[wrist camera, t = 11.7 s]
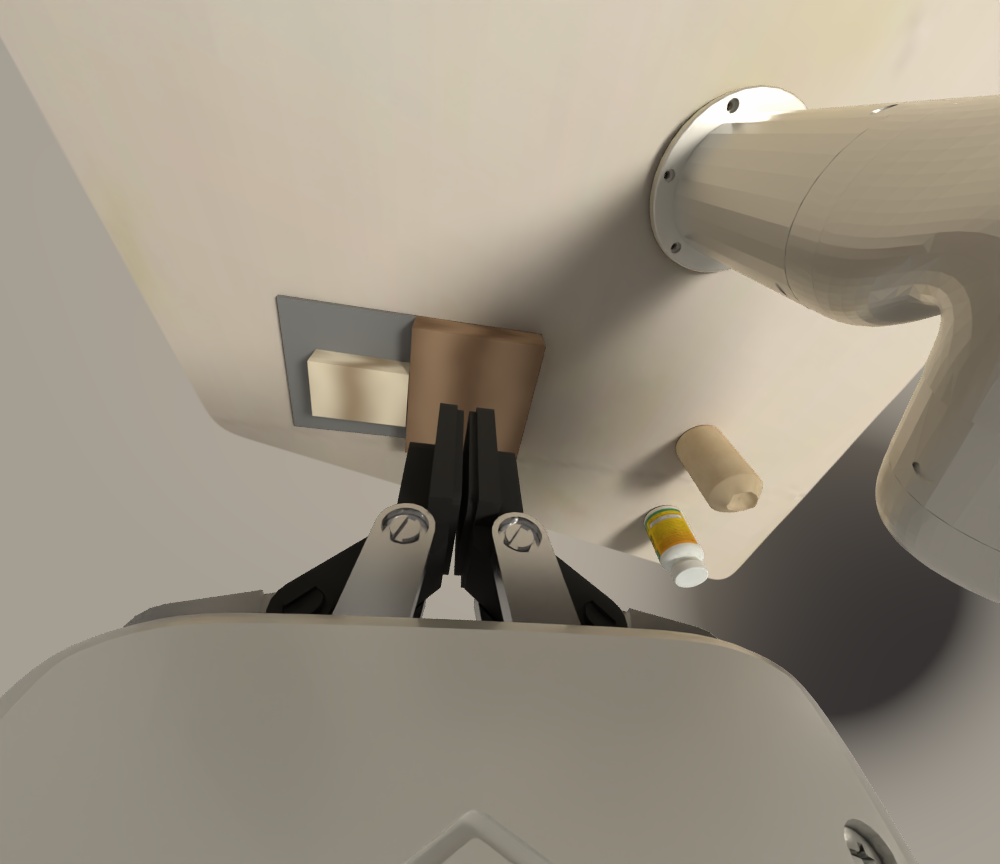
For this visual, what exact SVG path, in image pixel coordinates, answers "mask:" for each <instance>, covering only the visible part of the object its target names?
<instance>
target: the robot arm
mask: <svg viewBox="0 0 1000 864" xmlns="http://www.w3.org/2000/svg"><path fill="white" fill-rule="evenodd" d="M728 102H729V103H730V107H729V109H728V110H727V104H728ZM666 171H667V172H668V176H667V177H666V178H665V179H664V174H665V172H666ZM650 220H651V227H652V230H653V233H654V236H655V239H656V241H657V243H658V244H659V246H660V248H661V249H662V251H663V252H664V253H665V254H666V255H667V256H668V257H669V258H670V259H671V260H673V261H674V262H676V263H677V264H679V265H680V266H683V267H685V268H687V269H689V270H693V271H698V272H703V273H704V272H720V271H724V270H729V269H733V270H735V271H737V272H739V273H741V274H743V275H745V276H747V277H749V278H751V279H753V280H755V281H757V282H758V283H760V284H762V285H764V286H766V287H768V288H770V289H772V290H774V291H776V292H778V293H780V294H782V295H784V296H786V297H787V298H789V299H791V300H793V301H795V302H797V303H799V304H801V305H803V306H805V307H807V308H809V309H812V310H814V311H816V312H818V313H820V314H822V315H823V316H826V317H828V318H831V319H833V320H836V321H838V322H842V323H846V324H850V325H856V326H871V327H879V326H890V325H897V324H903V323H909V322H914V321H918V320H922V319H926V318H929V317H933V316H937V315H940V314H941V324H940V328H939V333H938V336H937V338H936V341H935V343H934V345H933V348H932V350H931V352H930V355H929V357H928V359H927V361H926V364H925V366H924V372H923V374H922V376H921V378H920V381H919V383H918V385H917V387H916V389H915V391H914V393H913V396H912V398H911V400H910V402H909V404H908V406H907V408H906V410H905V413H904V415H903V417H902V419H901V421H900V423H899V425H898V427H897V429H896V432H895V434H894V436H893V438H892V440H891V443H890V446H889V448H888V451H887V453H886V455H885V457H884V459H883V462H882V465H881V468H880V470H879V474H878V477H877V482H876V503H877V508H878V511H879V514H880V517H881V519H882V521H883V523H884V524H885V526H886V527H887V529H888V530H889V532H890V533H891V534H892V536H893V537H894V538H895V539H896V541H898V543H899V544H900V545H901V546H902V547H904V548H905V549H906V550H907V551H908V552H909V553H910V554H912V555H913V556H914V557H915V558H917V559H918V560H919V561H920V562H922V563H923V564H925V565H926V566H927V567H929V568H931V569H932V570H934V571H935V572H937V573H939V574H940V575H942V576H943V577H945V578H947V579H949V580H950V581H952V582H954V583H956V584H958V585H960V586H962V587H964V588H966V589H968V590H970V591H972V592H974V593H976V594H978V595H981V596H983V597H985V598H987V599H990V600H992V601H994V602H997V603H999V604H1000V94H999V95H990V96H978V97H965V98H952V99H940V100H927V101H913V102H900V103H887V104H873V105H860V106H846V107H833V108H820V109H807V107H806V105H805V104H804V103H803V102H802V101H801V100H800V99H799V98H798V97H796V96H795V95H794V94H793V93H791V92H789V91H786V90H784V89H782V88H779V87H773V86H765V85H760V86H752V87H746V88H742V89H738V90H734V91H730V92H728V93H726V94H724V95H722V96H720V97H718V98H716V99H714V100H712V101H711V102H710V103H708V104H707V105H705V106H704V107H703V108H701V109H700V110H698V111H697V112H696V113H695V114H694V115H693V116H692V117H691V118H690V119H689V120H688V121H687V122H686V123H685V124H684V125H683V126H682V128H681V129H680V130H679V131H678V133H677V134H676V135H675V137H674V138H673V139H672V141H671V142H670V144H669V146H668V148H667V149H666V151H665V153H664V155H663V157H662V158H661V161H660V163H659V166H658V169H657V171H656V174H655V176H654V181H653V185H652V190H651V194H650ZM673 244H675V245H674V247H673V248H671V247H672V245H673ZM463 432H464V410H458V405H454V404H446V403H440V409H439V417H438V425H437V434H436V442H435V444H426V443H417V442H410V444H409V448H408V453H407V458H406V463H405V468H404V473H403V478H402V483H401V488H400V493H399V498H398V503H397V504H395V505H393V506H390V507H388V508H386V509H385V510H384V511H382V512H381V513H380V514H379V516H378V517H377V519H376V520H375V522H374V525H373V527H372V529H371V531H370V533H369V535H368V537H366V538H364V539H363V540H361V541H359V542H358V543H356V544H354V545H352V546H351V547H349V548H347V549H346V550H344V551H342V552H340V553H339V554H337V555H335V556H334V557H332V558H330V559H329V560H327V561H325V562H324V563H322V564H320V565H318V566H317V567H315V568H313V569H311V570H310V571H308V572H306V573H305V574H303V575H301V576H300V577H298V578H296V579H294V580H293V581H291V582H289V583H287V584H286V585H285V586H283V587H282V588H281V589H279V590H278V591H277V592H276V593H269V594H263V590H258V591H251V592H244V593H237V594H230V595H224V596H217V597H210V598H203V599H196V600H190V601H183V602H176V603H169V604H163V605H160V606H156V607H153V608H150V609H148V610H146V611H144V612H142V613H140V614H138V615H137V616H135V617H134V618H133V619H132V620H130V621H129V622H128V623H127V624H126V625H125V626H124V627H123V628H120V629H117V630H113V631H110V632H107V633H104V634H101V635H98V636H95V637H93V638H90V639H87V640H85V641H83V642H80V643H78V644H75V645H73V646H71V647H68V648H67V649H65V650H63V651H61V652H59V653H57V654H55V655H54V656H52V657H50V658H49V659H47V660H46V661H44V662H43V663H41V664H40V665H39V666H37V667H36V668H34V669H33V670H32V671H30V672H29V673H28V674H27V675H26V676H24V677H23V678H22V679H21V680H19V681H18V682H17V683H16V684H15V685H14V686H13V687H12V688H11V689H9V690H8V691H7V692H6V693H5V694H4V695H3V696H2V697H1V698H0V864H918V863H917V861H916V859H915V858H914V856H913V854H912V853H911V851H910V849H909V847H908V846H907V844H906V842H905V841H904V839H903V837H902V835H901V834H900V832H899V830H898V829H897V828H896V826H895V824H894V822H893V820H892V819H891V817H890V815H889V814H888V812H887V811H886V809H885V807H884V806H883V804H882V802H881V801H880V799H879V797H878V796H877V794H876V793H875V791H874V790H873V788H872V786H871V785H870V783H869V781H868V780H867V778H866V777H865V775H864V773H863V772H862V770H861V768H860V767H859V765H858V764H857V762H856V760H855V759H854V757H853V756H852V754H851V752H850V751H849V750H848V748H847V746H846V745H845V743H844V742H843V740H842V739H841V737H840V736H839V734H838V733H837V731H836V730H835V729H834V727H833V726H832V724H831V723H830V721H829V720H828V718H827V717H826V715H825V714H824V713H823V711H822V710H821V708H820V707H819V706H818V704H817V703H816V702H815V700H814V699H813V698H812V697H811V695H810V694H809V693H808V692H807V691H806V689H805V688H804V687H803V686H802V685H801V684H800V683H799V682H798V681H797V680H796V679H795V678H794V677H793V676H792V675H791V674H789V673H788V672H787V671H786V670H784V669H783V668H782V667H780V666H778V665H777V664H775V663H773V662H772V661H770V660H768V659H766V658H764V657H763V656H761V655H759V654H757V653H754V652H752V651H750V650H747V649H745V648H743V647H740V646H738V645H735V644H732V643H729V642H725V641H722V640H719V639H717V638H716V637H715V636H714V635H712V634H711V633H710V632H708V631H706V630H704V629H701V628H699V627H696V626H692V625H689V624H685V623H681V622H678V621H674V620H670V619H667V618H663V617H660V616H656V615H653V614H649V613H645V612H642V611H638V610H634V609H631V608H629V610H628V611H627V612H626V611H622V610H621V609H620V608H619V607H618V606H617V605H616V604H615V603H614V602H613V601H612V600H611V599H610V598H608V597H607V596H606V595H605V594H604V593H602V592H601V591H600V590H599V589H597V588H596V587H595V586H594V585H592V584H591V583H590V582H588V581H587V580H586V579H585V578H583V577H582V576H581V575H580V574H578V573H577V572H576V571H575V570H573V569H572V568H571V567H570V566H568V565H567V564H566V563H565V562H563V561H562V560H561V559H560V558H558V557H557V556H556V555H555V553H554V550H553V548H552V545H551V542H550V540H549V537H548V535H547V532H546V530H545V528H544V526H543V525H542V524H541V523H540V522H539V521H538V520H537V519H535V518H533V517H532V516H530V515H527V514H524V513H523V507H522V500H521V493H520V485H519V478H518V470H517V463H516V456H515V453H512V452H502V451H498V448H497V436H496V424H495V411H494V409H487V408H479V407H477V408H476V412H473V411H469V415H468V422H467V428H466V434H465V440H464V447H463ZM455 534H456V542H455V566H454V567H455V569H454V575H461V587H463V588H465V590H466V591H467V592H469V593H470V594H471V595H472V596H473V597H474V598H475V599H474V610H475V616H476V621H473V620H448V619H425V618H424V619H423V618H422V616H423V612H424V608H425V603H426V598H428V597H429V596H430V595H431V594H433V593H434V592H435V591H437V590H438V589H439V588H440V587H441V582H442V576H443V575H444V574H445V575H448V574H449V569H450V563H451V557H452V551H453V545H454V540H455Z"/></svg>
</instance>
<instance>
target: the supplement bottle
mask: <svg viewBox="0 0 1000 864" xmlns="http://www.w3.org/2000/svg"><path fill="white" fill-rule="evenodd" d="M644 526H645V529H646V531H647V533H648V535H649V538H650V540H651V542H652V545H653V547H654V549H655V552H656V554H657V556H658V559H659V561H660V563H661V565H662V567H663V568H664V569H665V570H667V571H668V572H670V573H671V575H672V577H673V579H674V581H675V583H676V584H677V585H678V586H680V587H693V586H696V585H699V584H701V583H702V582H704V581H705V580H706V579H707V577H708V571H707V569H706V567H705V564H704V563H703V560H704V551H703V549H702V547H701V545H700V544H699V542H698V540H697V538H696V536H695V535H694V533H693V531H692V529H691V527H690V526H689V524H688V522H687V520H686V518H685V516H684V515H683V513H682V511H681V510H680V509H679V508H677V507H674V506H660V507H657V508H655V509H653V510H652V511H650V512H649V513H648V514H647V515H646V517H645V520H644Z"/></svg>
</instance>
